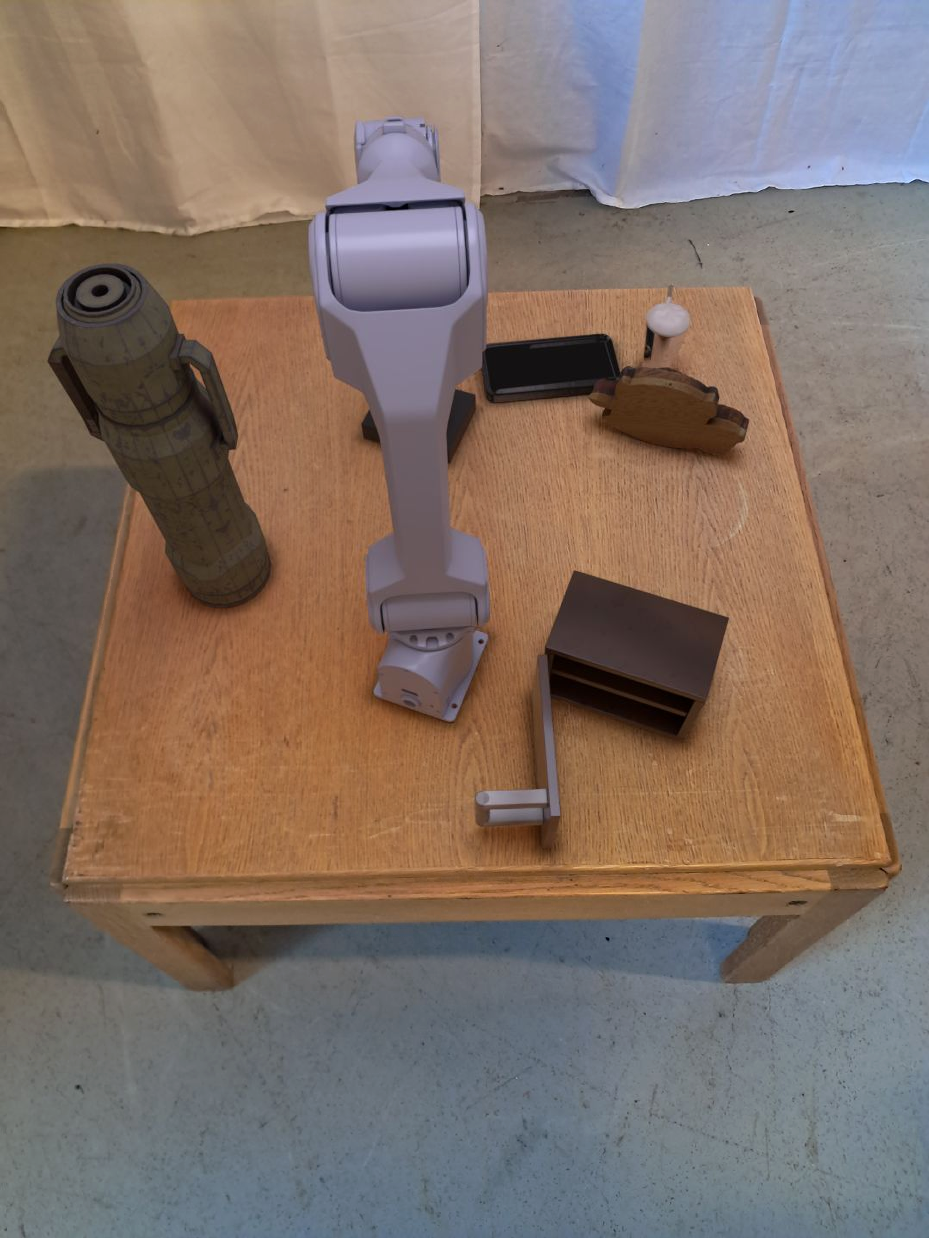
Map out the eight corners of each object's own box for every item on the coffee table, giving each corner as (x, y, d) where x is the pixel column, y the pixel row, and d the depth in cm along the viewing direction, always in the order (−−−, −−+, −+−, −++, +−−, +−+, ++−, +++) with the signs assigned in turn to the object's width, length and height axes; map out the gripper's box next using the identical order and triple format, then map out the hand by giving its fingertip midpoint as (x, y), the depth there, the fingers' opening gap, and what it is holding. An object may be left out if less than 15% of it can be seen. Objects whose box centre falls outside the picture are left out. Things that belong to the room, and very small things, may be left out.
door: (476, 850, 76) (475, 819, 68) (470, 702, 83) (469, 657, 75) (552, 848, 77) (561, 816, 68) (540, 699, 83) (547, 654, 75)
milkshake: (675, 355, 103) (693, 285, 95) (675, 391, 101) (694, 322, 92) (634, 353, 104) (649, 282, 95) (634, 388, 101) (649, 319, 92)
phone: (623, 383, 100) (487, 396, 99) (621, 391, 101) (487, 403, 100) (609, 332, 103) (479, 343, 103) (608, 339, 104) (478, 350, 104)
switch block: (476, 409, 100) (476, 383, 96) (449, 464, 96) (448, 439, 93) (392, 386, 102) (389, 360, 98) (363, 438, 98) (359, 413, 95)
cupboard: (683, 742, 81) (707, 699, 73) (538, 694, 83) (544, 646, 75) (704, 666, 85) (729, 617, 76) (564, 622, 87) (573, 569, 79)
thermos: (173, 534, 92) (22, 245, 62) (290, 532, 92) (196, 241, 62) (160, 610, 88) (-8, 340, 58) (282, 608, 88) (178, 337, 57)
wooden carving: (740, 436, 98) (766, 369, 89) (735, 469, 95) (761, 403, 87) (588, 408, 100) (599, 340, 91) (580, 440, 98) (591, 373, 89)
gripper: (417, 323, 76) (425, 431, 88) (477, 215, 82) (477, 329, 94) (339, 303, 77) (358, 412, 89) (405, 198, 83) (414, 313, 95)
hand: (415, 368), depth 92 cm, fingers closed
